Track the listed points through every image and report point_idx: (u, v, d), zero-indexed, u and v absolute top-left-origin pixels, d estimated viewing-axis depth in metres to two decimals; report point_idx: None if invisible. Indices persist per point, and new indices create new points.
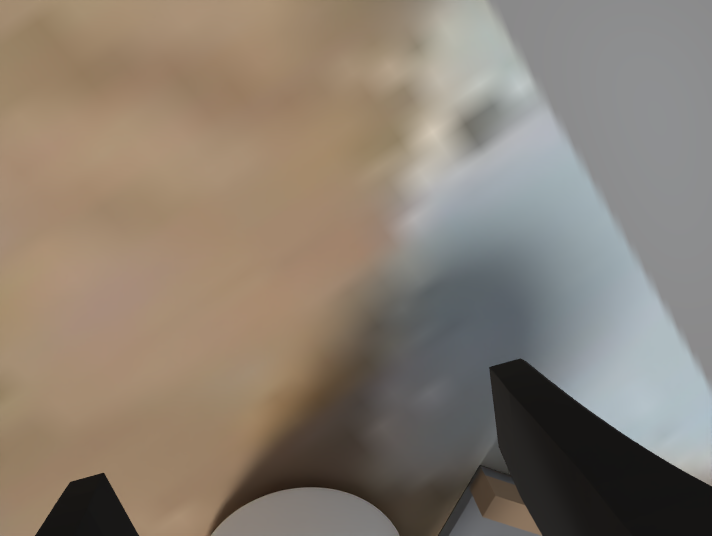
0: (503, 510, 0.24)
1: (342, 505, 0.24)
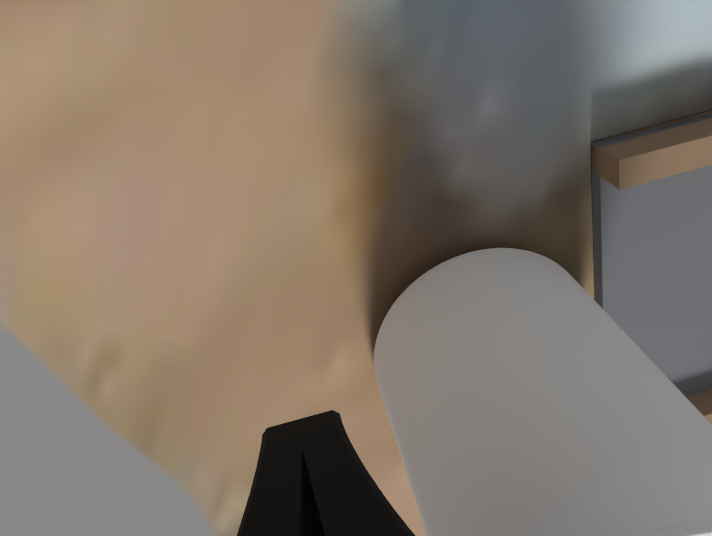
0: (638, 169, 0.20)
1: (469, 266, 0.21)
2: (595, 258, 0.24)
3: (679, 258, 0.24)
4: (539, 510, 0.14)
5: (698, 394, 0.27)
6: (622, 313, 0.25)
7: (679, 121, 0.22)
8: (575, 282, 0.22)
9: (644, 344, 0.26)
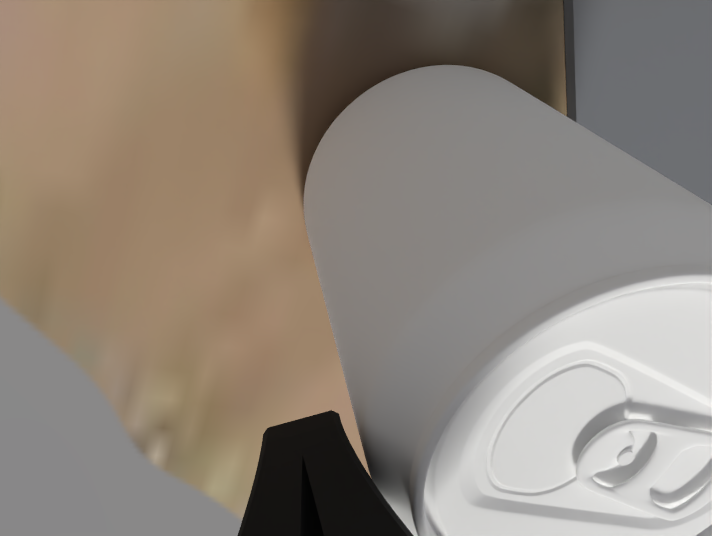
0: None
1: (412, 78, 0.18)
2: (568, 93, 0.20)
3: (667, 94, 0.20)
4: (466, 268, 0.10)
5: None
6: None
7: None
8: None
9: None
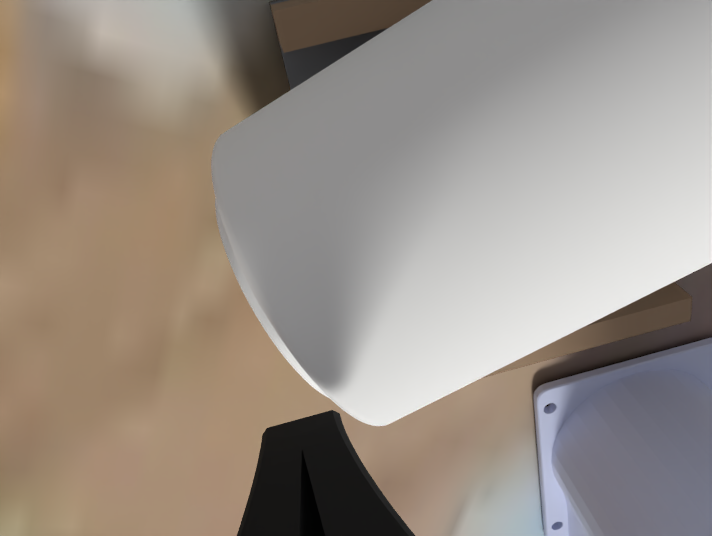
0: (303, 25, 0.16)
1: (248, 118, 0.15)
2: None
3: None
4: None
5: None
6: None
7: None
8: None
9: None
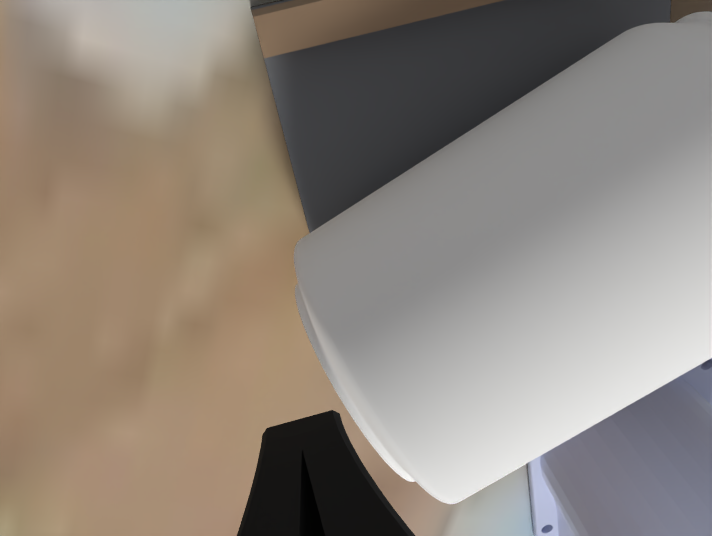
0: (283, 31, 0.16)
1: (366, 326, 0.14)
2: (291, 163, 0.20)
3: (394, 164, 0.20)
4: None
5: None
6: None
7: None
8: (341, 217, 0.17)
9: None
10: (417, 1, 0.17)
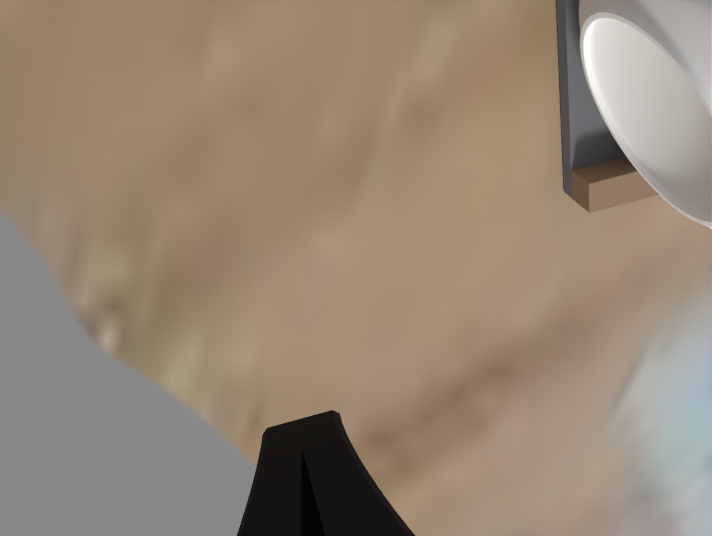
0: None
1: None
2: None
3: None
4: None
5: None
6: None
7: None
8: None
9: None
10: None
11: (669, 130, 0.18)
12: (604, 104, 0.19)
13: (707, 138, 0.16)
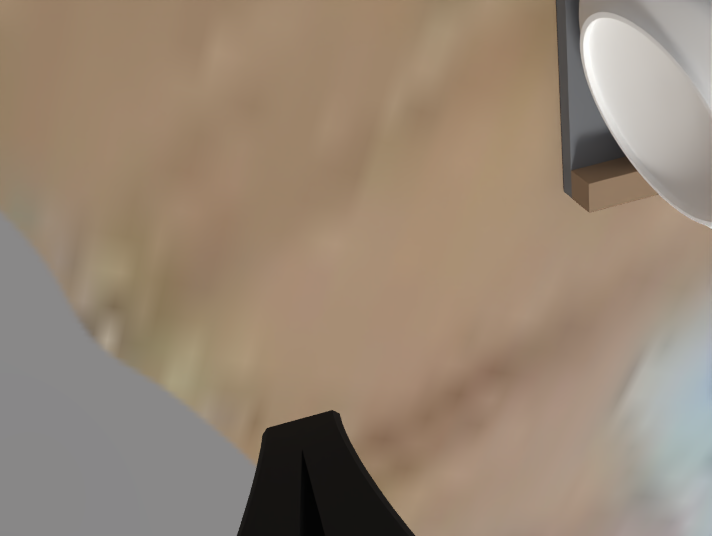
0: None
1: None
2: None
3: None
4: None
5: None
6: None
7: None
8: None
9: None
10: None
11: (668, 130, 0.18)
12: (604, 104, 0.19)
13: (708, 137, 0.16)
